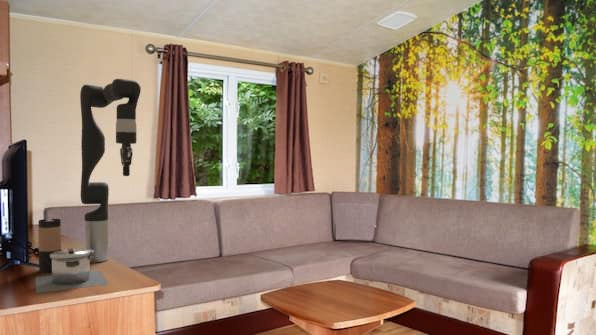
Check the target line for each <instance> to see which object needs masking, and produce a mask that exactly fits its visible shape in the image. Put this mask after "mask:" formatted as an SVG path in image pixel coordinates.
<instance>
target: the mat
mask: <svg viewBox="0 0 596 335" xmlns="http://www.w3.org/2000/svg"><path fill="white" fill-rule="evenodd" d="M34 279H35V280H34V281H35V294H38V293H48V292H56V291H65V290H73V289H81V288H89V287H96V286H106V285H107V286H108V285H109V282H108V281H107V278H106V277H105V275H104V274H103V272H102V270H101V269H98V270H90V279H89V280H88V281H86V282H83V283H80V284H74V285H55V284H53V283H52V274H50V275H44V276H36V277H35V278H34Z"/></svg>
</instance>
